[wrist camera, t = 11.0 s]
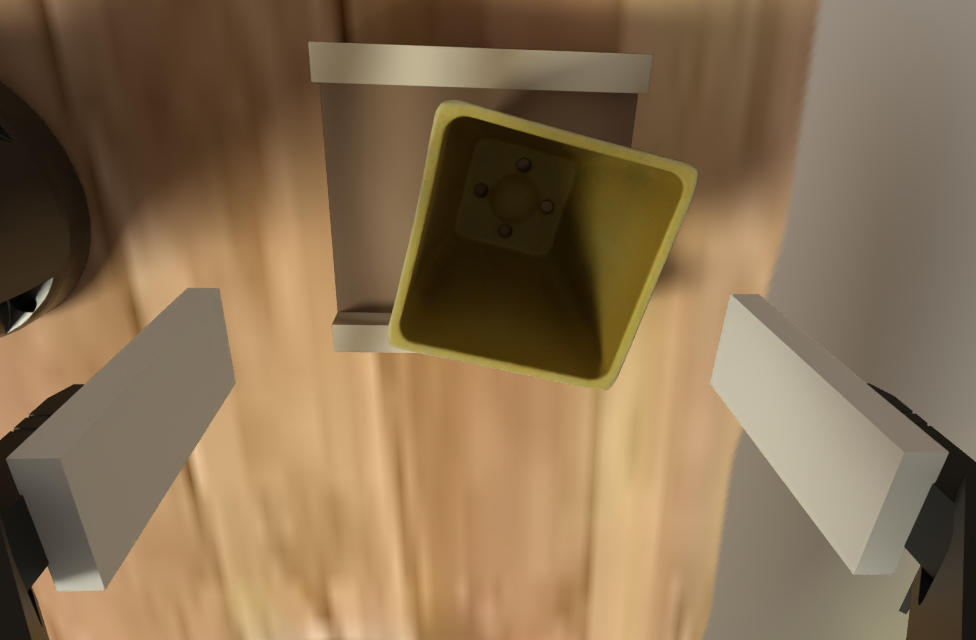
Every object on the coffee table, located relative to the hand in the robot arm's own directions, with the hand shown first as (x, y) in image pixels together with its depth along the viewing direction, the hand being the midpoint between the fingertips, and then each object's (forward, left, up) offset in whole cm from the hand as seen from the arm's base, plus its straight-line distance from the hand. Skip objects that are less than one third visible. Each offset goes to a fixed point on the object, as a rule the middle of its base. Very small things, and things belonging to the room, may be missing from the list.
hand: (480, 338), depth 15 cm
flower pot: (+2, 0, -14) cm, 14 cm away
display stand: (0, 0, -18) cm, 18 cm away
